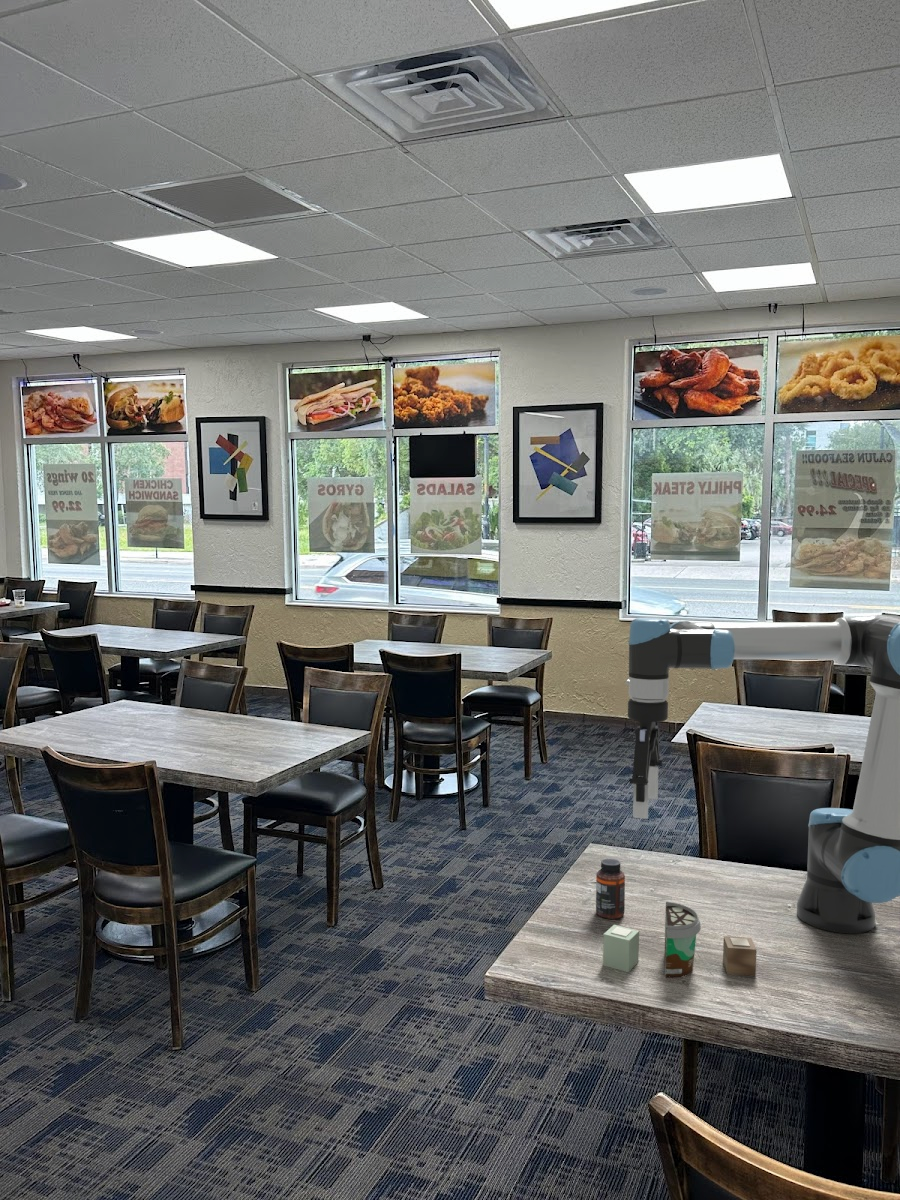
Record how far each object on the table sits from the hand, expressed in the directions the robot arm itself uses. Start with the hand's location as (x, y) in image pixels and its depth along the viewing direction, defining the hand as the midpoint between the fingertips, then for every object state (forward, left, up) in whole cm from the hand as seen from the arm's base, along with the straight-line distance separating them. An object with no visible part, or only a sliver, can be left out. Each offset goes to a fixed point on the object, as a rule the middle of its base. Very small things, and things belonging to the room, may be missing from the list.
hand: (645, 807), depth 182 cm
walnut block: (-18, +5, -27) cm, 33 cm away
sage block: (+3, +10, -27) cm, 29 cm away
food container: (-8, +8, -27) cm, 29 cm away
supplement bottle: (+8, -12, -27) cm, 31 cm away
